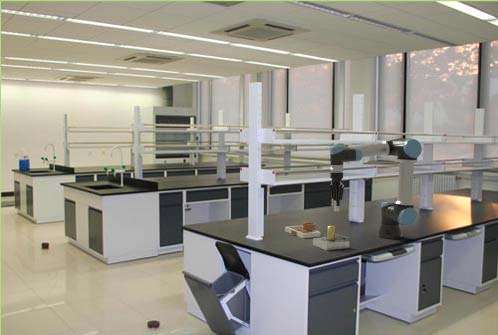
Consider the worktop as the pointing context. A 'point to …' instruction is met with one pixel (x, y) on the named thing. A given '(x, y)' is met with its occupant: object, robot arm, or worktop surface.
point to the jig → (332, 242)
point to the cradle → (302, 235)
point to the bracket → (304, 228)
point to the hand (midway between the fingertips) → (336, 211)
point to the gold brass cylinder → (331, 233)
